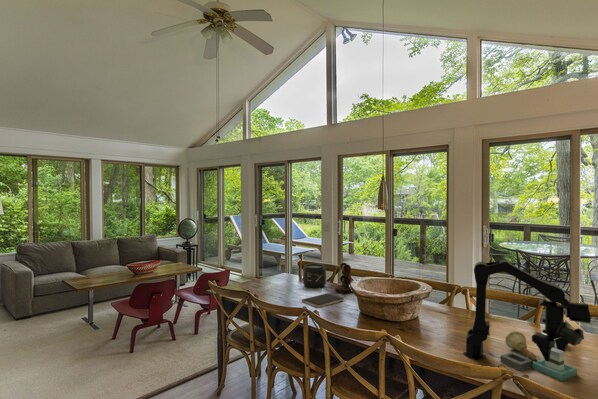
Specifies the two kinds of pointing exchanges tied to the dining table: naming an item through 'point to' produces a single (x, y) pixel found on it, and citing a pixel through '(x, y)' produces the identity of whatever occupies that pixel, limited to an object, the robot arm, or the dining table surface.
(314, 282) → the lettered dark canister
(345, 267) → the brown carved figurine
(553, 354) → the block
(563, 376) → the parts tray
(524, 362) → the socket block
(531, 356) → the hand bell
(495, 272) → the robot arm
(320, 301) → the hardcover book
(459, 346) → the dining table surface
